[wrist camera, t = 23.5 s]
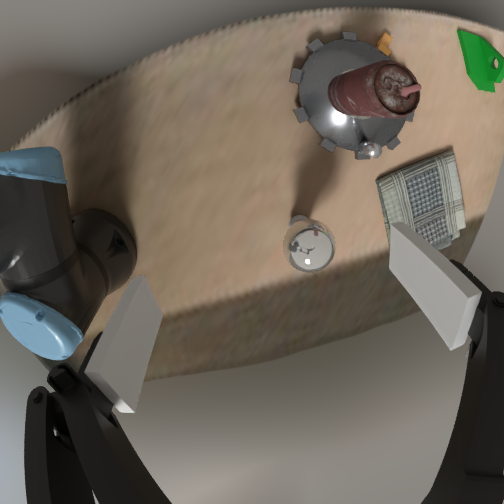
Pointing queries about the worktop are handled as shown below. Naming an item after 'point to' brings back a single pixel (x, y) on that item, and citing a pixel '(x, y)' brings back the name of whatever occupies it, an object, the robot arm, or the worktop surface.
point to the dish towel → (425, 199)
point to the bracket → (481, 61)
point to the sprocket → (325, 115)
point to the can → (375, 91)
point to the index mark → (385, 39)
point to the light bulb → (308, 244)
